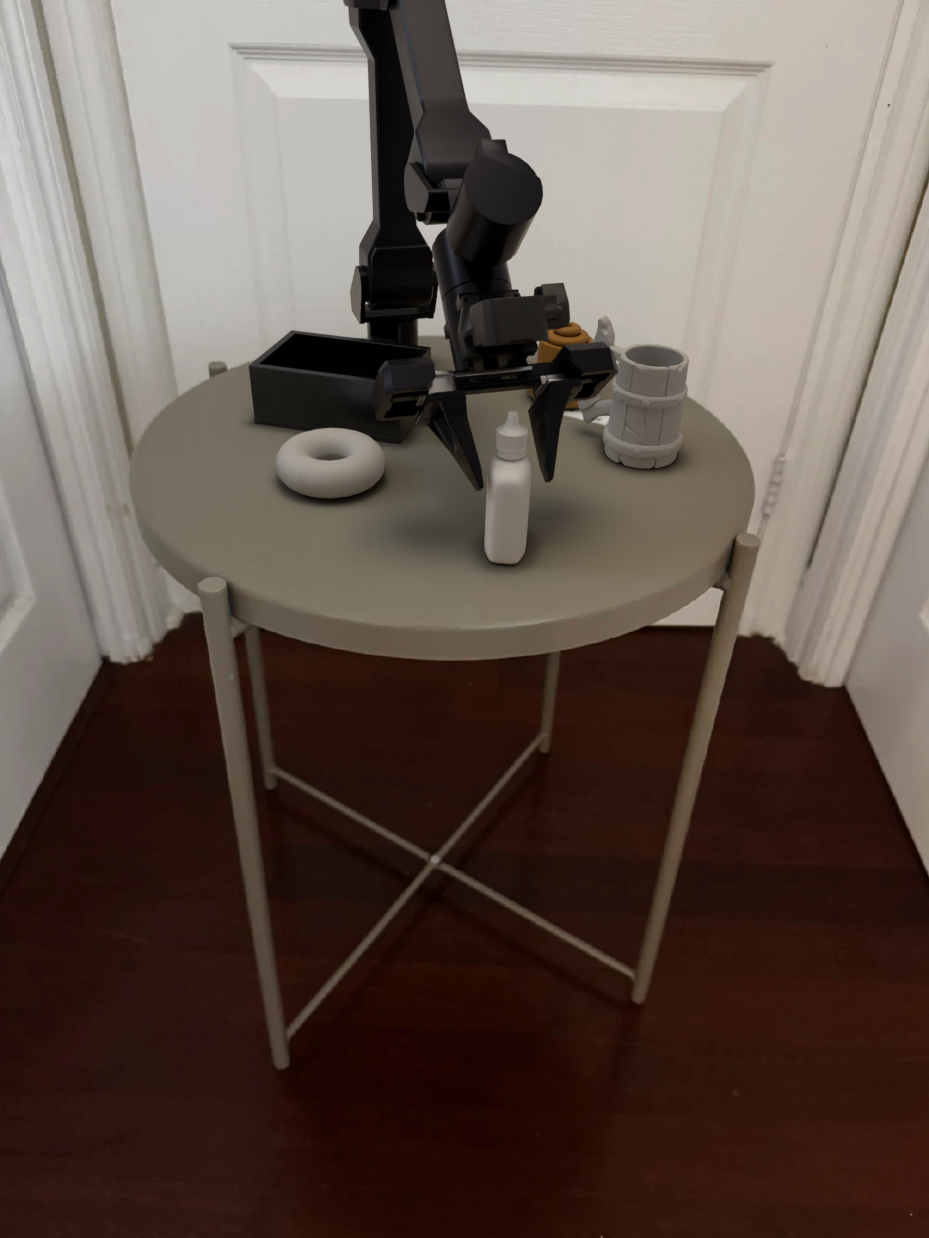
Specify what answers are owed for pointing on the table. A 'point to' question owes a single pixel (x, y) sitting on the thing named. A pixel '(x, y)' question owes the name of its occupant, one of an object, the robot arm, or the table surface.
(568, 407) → the orange brown bell-shaped piece
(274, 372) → the black open box
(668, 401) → the mug
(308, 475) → the donut
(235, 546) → the table surface
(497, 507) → the eye dropper bottle
